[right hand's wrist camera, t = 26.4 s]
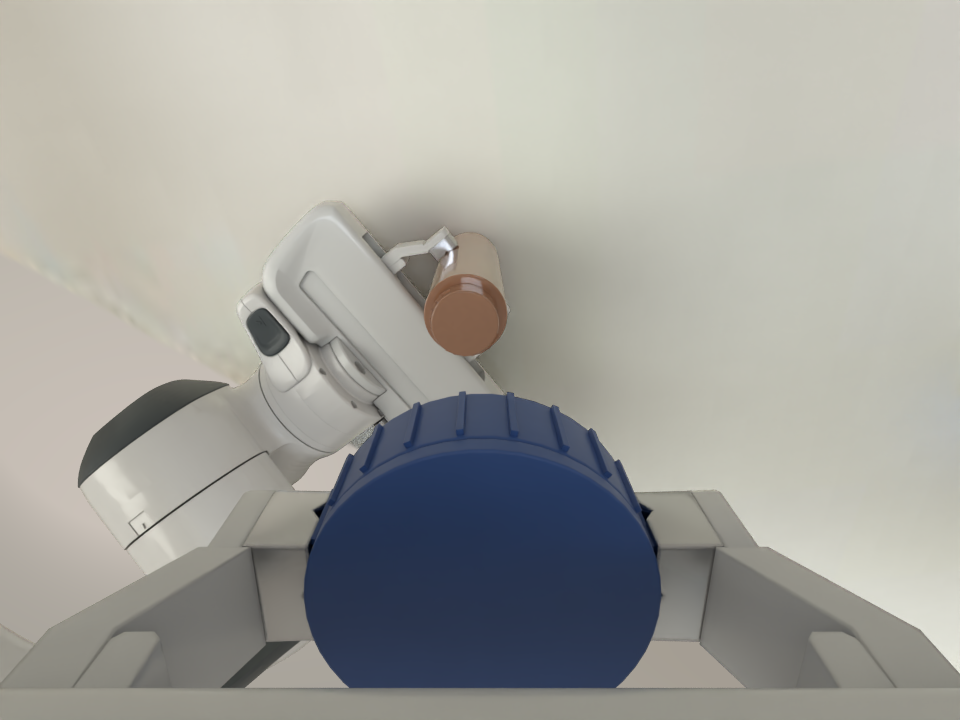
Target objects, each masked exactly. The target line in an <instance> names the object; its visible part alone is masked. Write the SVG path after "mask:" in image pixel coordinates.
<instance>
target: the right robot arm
mask: <svg viewBox="0 0 960 720" xmlns="http://www.w3.org/2000/svg"><path fill="white" fill-rule="evenodd" d="M330 493H331V491H281V490H279V491H276V490H250V491H247V492H245V493H244V494H243V495H242V497H241V498H240V500H239V501H238V503H237V504H236V506H235V507H234V509H233V510H232V511H231V513H230V514H229V516H228V517H227V519H226V520H225V522H224V523H223V525H222V526H221V528H220V529H219V531H218V532H217V533H216V535H215V536H214V538H213V539H212V541H211V542H210V544H209V545H208V547H197V548H196V549H194V550H192V551H190V552H188V553H187V554H185V555H183V556H181V557H179V558H177V559H176V560H174V561H172V562H170V563H168V564H166V565H165V566H163V567H161V568H159V569H157V570H155V571H154V572H152V573H150V574H148V575H146V576H145V577H143V578H141V579H139V580H137V581H135V582H134V583H132V584H130V585H128V586H126V587H124V588H123V589H121V590H119V591H117V592H115V593H114V594H112V595H110V596H108V597H106V598H104V599H103V600H101V601H99V602H97V603H95V604H94V605H92V606H90V607H88V608H86V609H84V610H83V611H81V612H79V613H77V614H75V615H73V616H72V617H70V618H68V619H66V620H64V621H62V622H61V623H59V624H57V625H55V626H53V627H52V628H50V629H48V630H47V632H46V633H45V634H44V635H43V636H42V637H41V638H40V639H39V641H38V642H37V643H36V644H35V645H34V646H33V647H32V648H31V650H30V651H29V652H28V653H27V654H26V655H25V656H24V657H23V658H22V660H21V661H20V662H19V663H18V664H17V665H16V666H15V667H14V669H13V670H12V671H11V672H10V673H9V674H8V675H7V676H6V678H5V679H4V680H3V681H2V682H1V683H0V720H960V674H959V672H958V671H957V670H956V669H955V668H954V667H953V666H952V665H951V664H950V662H949V661H948V660H947V659H946V658H945V657H944V656H943V655H942V654H941V652H940V651H939V650H938V649H937V648H936V647H935V646H934V645H933V644H932V642H931V641H930V640H929V639H928V638H927V637H926V636H925V635H924V634H923V633H922V631H921V630H919V629H918V628H916V627H914V626H912V625H910V624H908V623H907V622H905V621H903V620H901V619H899V618H897V617H896V616H894V615H892V614H890V613H888V612H886V611H885V610H883V609H881V608H879V607H877V606H875V605H873V604H872V603H870V602H868V601H866V600H864V599H862V598H861V597H859V596H857V595H855V594H853V593H851V592H850V591H848V590H846V589H844V588H842V587H840V586H839V585H837V584H835V583H833V582H831V581H829V580H828V579H826V578H824V577H822V576H820V575H818V574H817V573H815V572H813V571H811V570H809V569H807V568H806V567H804V566H802V565H800V564H798V563H796V562H795V561H793V560H791V559H789V558H787V557H785V556H784V555H782V554H780V553H778V552H776V551H774V550H773V549H771V548H769V547H759V546H758V545H757V544H756V542H755V541H754V539H753V538H752V536H751V535H750V534H749V532H748V531H747V529H746V528H745V526H744V525H743V524H742V522H741V521H740V519H739V518H738V517H737V515H736V514H735V512H734V511H733V509H732V508H731V507H730V505H729V504H728V502H727V501H726V499H725V498H724V497H723V495H722V494H721V493H720V492H719V491H717V490H698V491H672V492H634V493H635V495H636V498H637V500H638V502H639V505H640V507H641V509H642V511H641V513H642V515H643V517H644V520H645V522H646V528H647V531H648V533H649V535H650V537H651V540H652V542H653V544H654V553H655V556H656V558H657V563H658V567H659V572H660V577H661V604H660V611H659V618H658V621H657V624H656V628H655V631H654V635H653V637H652V639H651V640H654V641H690V642H700V645H701V646H702V647H703V648H704V649H705V650H706V651H707V652H708V653H710V654H711V655H712V656H713V657H714V658H715V659H716V660H717V661H718V662H719V663H720V664H721V665H722V666H723V667H725V668H726V669H727V670H728V671H729V672H730V673H731V674H732V675H733V676H734V677H735V678H736V679H737V680H738V681H739V682H740V683H741V684H743V685H744V686H745V687H746V688H221V687H222V686H223V685H224V684H225V683H226V682H227V681H228V680H229V679H230V678H231V677H232V676H233V675H235V674H236V673H237V672H238V671H239V670H240V669H241V668H242V667H243V666H244V665H245V664H246V663H247V662H248V661H249V660H250V659H251V658H252V657H254V656H255V655H256V654H257V653H258V652H259V651H260V650H261V649H262V648H263V647H264V646H265V645H266V642H276V641H311V640H314V639H313V637H312V634H311V631H310V628H309V624H308V621H307V618H306V611H305V604H304V577H305V572H306V567H307V562H308V558H309V556H310V553H311V550H312V547H313V545H312V542H311V537H312V535H313V533H314V531H315V528H316V526H317V524H318V521H319V518H320V516H321V514H322V511H323V509H324V507H325V504H326V503H327V500H328V498H329V495H330Z"/></svg>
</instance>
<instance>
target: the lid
mask: <svg viewBox="0 0 960 720" xmlns="http://www.w3.org/2000/svg"><path fill="white" fill-rule="evenodd" d="M641 511H642V509H641V507H640V505H639V502H638V500H637V498H636V495H635V493H634V491H633V489H632V486H631V484H630V482H629V479H628V477H627V475H626V473H625V470H624V468H623V466H622V464H621V462H620V460H617V461H614V460H613V458H612V456H611V455H610V454H609V453H608V451H607V450H606V449H605V448H604V446H603V445H602V444H601V442H599V439H598V437H597V434H596V432H595V431H594V430H593V429H592V428H591V429H590V430H587V429H585V428H584V427H583V426H581V425H580V424H578V423H577V422H576V421H574V420H573V419H571V418H570V417H568V416H566V415H564V414H562V413H560V411H559V407H557V406H555V405H552V407H551V408H550V407H547V406H545V405H542V404H540V403H537V402H534V401H530V400H526V399H522V398H518V397H514V393H511V392H507V395H498V394H466V391H461V392H459V395H458V396H450V397H446V398H442V399H438V400H434V401H430V402H427V403H425V404H422V405H421V404H420V402H417V403H414V404H413V408H412V409H410V410H408V411H406V412H404V413H402V414H400V415H399V416H397V417H395V418H393V419H392V420H390V421H389V422H387V423H386V424H385V425H383V426H382V425H381V424H380V423H379V424H378V425H376V426H375V428H374V430H373V433H372V435H371V436H370V437H369V438H368V439H367V440H366V441H365V442H364V443H363V444H362V446H361V447H360V448H359V449H358V451H357V452H356V453H355V455H354V456H353V455H352V454H349V455H348V457H347V458H346V460H345V463H344V465H343V467H342V470H341V472H340V474H339V477H338V479H337V481H336V484H335V486H334V488H333V489H332V491H331V493H330V495H329V498H328V500H327V503H326V504H325V507H324V509H323V511H322V514H321V516H320V518H319V521H318V524H317V526H316V528H315V531H314V533H313V535H312V537H311V542H312V545H313V547H312V550H311V553H310V556H309V558H308V562H307V567H306V572H305V577H304V604H305V611H306V618H307V621H308V624H309V628H310V631H311V634H312V637H313V639H314V641H315V643H316V645H317V647H318V649H319V651H320V653H321V654H322V656H323V658H324V659H325V661H326V662H327V664H328V665H329V667H330V668H331V669H332V670H333V671H334V673H335V674H336V675H337V676H338V677H339V678H340V679H341V680H342V682H343V683H344V684H346V685H347V686H348V687H349V688H616V687H617V686H618V685H619V684H621V683H622V682H623V681H624V680H625V678H626V677H627V676H628V675H629V674H630V673H631V672H632V670H633V669H634V668H635V667H636V665H637V664H638V662H639V661H640V659H641V658H642V656H643V655H644V653H645V652H646V649H647V647H648V645H649V643H650V641H651V639H652V637H653V635H654V631H655V628H656V624H657V621H658V618H659V611H660V604H661V577H660V572H659V567H658V563H657V558H656V556H655V553H654V544H653V542H652V540H651V537H650V535H649V533H648V531H647V528H646V522H645V520H644V517H643V515H642V513H641Z"/></svg>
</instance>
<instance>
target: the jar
mask: <svg viewBox="0 0 960 720" xmlns="http://www.w3.org/2000/svg"><path fill="white" fill-rule="evenodd" d="M454 238H455V239H456V240H457V242H458V245H457V246H456V247H455V248H454V249H453V250H451V251H450V252H446V254H445V256H444V257H443V258H441V259H440V260H439V263H438V266H437V269H436V272H435V275H434V278H433V281H432V284H431V287H430V290H429V293H428V296H427V299H426V302H425V306H424V322H425V325H426V328H427V331H428V333H429V334H430V336H431V337H432V339H433V340H434V341H435V342H436V343H437V344H438V345H439V346H441V347H442V348H444V349H445V350H446V351H448V352H450V353H452V354H454V355H459V356H463V357H464V356H474V355H477V354H481V353H483V352H484V351H486V350H487V349H489V348H490V347H491V346H492V345H493V344H494V343H496V342H497V340H498V339H499V338H500V337H501V335H502V333H503V331H504V329H505V326H506V323H507V305H506V300H505V294H504V288H503V282H502V276H501V270H500V264H499V258H498V254H497V251H496V248H495V247H494V245H493V244H492V242H491V241H490V240H489V239H487V238H486V237H485V236H483V235H481V234H478V233H473V232H466V233H461V234H458V235H456V236H454Z"/></svg>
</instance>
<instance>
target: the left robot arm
mask: <svg viewBox="0 0 960 720" xmlns="http://www.w3.org/2000/svg"><path fill="white" fill-rule="evenodd" d="M457 245H458V242H457V240H456V239H455V238H454V237H453V235H452V234H451V233H450V232H449V230H448V229H447V228H446V226H444V227H443V228H441V229H440V230H439V231H438V232H436V233H435V234H434V235H433V236H431V237H430V238H429V239H428V240H427V241H425V240H419V241H412V242H405V243H398V244H397V245H395V246H394V247H393V248H392V249H391V250H389V251H388V252H387V253H386V252H385V251H384V250H383V248H382V247H381V246H380V245H379V244H378V242H377V241H376V240H375V239H374V238H373V237H372V235H371V234H370V233H369V232H368V231H367V229H366V228H365V227H364V226H363V225H362V223H361V222H360V221H359V220H358V219H357V217H356V216H355V215H354V214H353V213H352V212H351V210H350V209H349V208H348V207H347V206H346V204H344V203H343V202H340V201H324V202H321V203H319V204H318V205H316V206H315V207H314V208H312V209H311V210H310V211H309V212H308V213H307V214H306V215H305V216H304V217H303V218H302V219H301V220H300V221H298V222H297V224H296V225H295V226H294V227H293V228H292V229H291V230H290V231H289V232H288V233H287V234H286V236H285V237H284V238H283V239H282V240H281V241H280V243H279V244H278V245H277V246H276V248H275V249H274V250H273V252H272V253H271V254H270V256H269V257H268V259H267V260H266V262H265V265H264V267H263V271H262V281H261V282H260V283H258V284H256V285H255V286H254V287H252V288H251V289H250V290H249V291H248V292H247V293H246V294H245V295H244V296H243V297H242V298H241V299H240V301H239V302H238V304H237V306H236V311H237V314H238V317H239V319H240V321H241V323H242V325H243V326H244V328H245V330H246V332H247V334H248V336H249V338H250V339H251V341H252V343H253V345H254V347H255V349H256V351H257V353H258V355H259V357H260V359H261V361H262V363H261V364H260V366H259V367H258V368H257V370H256V371H255V373H254V374H253V375H252V377H251V378H250V379H249V380H248V381H246V382H245V383H244V384H242V385H241V386H238V387H235V388H232V387H230V386H229V384H226V383H222V382H214V381H200V380H177V381H172V382H169V383H166V384H163V385H161V386H158V387H156V388H154V389H153V390H151V391H149V392H147V393H146V394H144V395H143V396H141V397H140V398H139V399H137V400H136V401H135V402H133V403H132V404H130V405H129V406H128V407H127V408H125V409H124V410H123V411H122V412H120V413H119V414H118V415H117V416H115V417H114V418H113V419H112V420H111V421H109V422H108V423H107V424H106V425H105V426H103V427H102V428H101V429H100V430H99V431H98V432H97V433H96V434H95V435H94V436H93V437H92V439H91V441H90V443H89V445H88V448H87V450H86V453H85V455H84V457H83V460H82V463H81V466H80V471H79V477H78V487H79V488H80V489H81V491H82V493H83V494H84V496H85V498H86V500H87V501H88V503H89V504H90V506H91V507H92V508H93V510H94V511H95V512H96V514H97V515H98V516H99V518H100V519H101V520H102V522H103V523H104V525H105V526H106V527H107V528H108V530H109V531H110V532H111V534H112V535H113V536H114V537H115V539H116V540H117V541H118V543H119V544H120V545H121V547H122V548H123V549H124V550H127V552H128V553H129V555H130V556H131V557H132V559H133V560H134V561H135V563H136V564H137V565H138V566H139V568H140V569H141V570H142V572H143V573H144V574H145V575H148V574H150V573H152V572H154V571H155V570H157V569H159V568H161V567H163V566H165V565H166V564H168V563H170V562H172V561H174V560H176V559H177V558H179V557H181V556H183V555H185V554H187V553H188V552H190V551H192V550H194V549H196V548H197V547H208V545H209V544H210V542H211V541H212V539H213V538H214V536H215V535H216V533H217V532H218V531H219V529H220V528H221V526H222V525H223V523H224V522H225V520H226V519H227V517H228V516H229V514H230V513H231V511H232V510H233V509H234V507H235V506H236V504H237V503H238V501H239V500H240V498H241V497H242V495H243V494H244V493H245V492H247V491H250V490H276V491H279V490H281V491H295V489H294V488H293V487H292V485H293V484H294V483H296V482H297V481H298V480H299V479H300V478H301V477H302V476H303V475H304V474H305V473H306V471H307V470H308V468H309V467H310V466H311V465H312V464H313V463H314V462H315V461H317V460H319V459H321V458H324V457H327V456H329V455H332V454H334V453H335V452H337V451H339V450H340V449H341V448H343V447H344V446H345V445H347V444H348V443H349V442H351V441H352V440H353V439H355V438H356V437H357V436H359V435H360V434H361V433H363V432H364V431H365V430H367V429H368V428H369V427H371V426H372V425H374V426H376V425H378V424H379V423H380V424H381V425H382V426H383V425H385V424H386V423H387V422H389V421H390V420H392V419H393V418H395V417H397V416H399V415H400V414H402V413H404V412H406V411H408V410H410V409H412V408H413V404H414V403H417V402H420V404H421V405H422V404H425V403H427V402H430V401H434V400H438V399H442V398H446V397H450V396H458V395H459V392H461V391H466V394H498V395H504V393H503V391H502V390H501V389H500V388H499V386H498V385H497V384H496V383H495V382H494V380H493V379H492V378H491V377H490V376H489V375H488V373H487V372H486V371H485V370H484V369H483V367H482V366H481V365H480V364H479V363H478V361H477V360H476V359H475V358H476V357H477V356H479V355H480V354H477V355H474V356H464V357H463V356H459V355H454V354H452V353H450V352H448V351H446V350H445V349H444V348H442V347H441V346H439V345H438V344H437V343H436V342H435V341H434V340H433V339H432V337H431V336H430V334H429V333H428V331H427V328H426V325H425V322H424V306H425V302H426V300H425V298H424V297H423V296H422V295H421V294H420V292H419V291H418V290H417V289H416V288H415V286H414V285H413V284H412V283H411V282H410V281H409V279H408V278H407V277H406V276H405V275H404V273H403V272H402V271H401V269H402V268H403V267H404V266H406V264H407V262H408V261H409V257H408V256H413V255H419V254H425V253H431V254H432V256H433V257H434V258H435V259H436V260H437V262H438V261H439V260H440V259H441V258H443V257H444V256H445V254H446V252H450V251H451V250H453V249H454V248H455V247H456V246H457ZM506 305H507V303H506ZM509 312H510V307H509V306H508V305H507V315H508V314H509ZM309 642H310V641H276V642H266V645H265V646H264V647H263V648H262V649H261V650H260V651H259V652H258V653H257V654H256V655H255V656H254V657H252V658H251V659H250V660H249V661H248V662H247V663H246V664H245V665H244V666H243V667H242V668H241V669H240V670H239V671H238V672H237V673H236V674H235V675H233V676H232V677H231V678H230V679H229V680H228V681H227V682H226V683H225V684H224V685H223V686H222V687H221V688H245V687H246V686H247V685H249V684H250V683H251V682H252V681H253V680H254V679H255V678H257V677H258V676H259V675H260V674H261V673H262V672H264V671H265V670H266V669H268V668H270V667H272V666H274V665H276V664H277V663H279V662H281V661H283V660H285V659H286V658H288V657H289V656H291V655H293V654H294V653H296V652H297V651H298V650H300V649H301V648H302V647H304V646H305V645H306V644H307V643H309ZM34 645H35V643H33V642H31V641H29V640H27V639H25V638H23V637H21V636H20V635H18V634H16V633H15V632H13V631H11V630H10V629H8V628H6V627H5V626H3V625H1V624H0V683H1V682H2V681H3V680H4V679H5V678H6V676H7V675H8V674H9V673H10V672H11V671H12V670H13V669H14V667H15V666H16V665H17V664H18V663H19V662H20V661H21V660H22V658H23V657H24V656H25V655H26V654H27V653H28V652H29V651H30V650H31V648H32V647H33V646H34Z"/></svg>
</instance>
